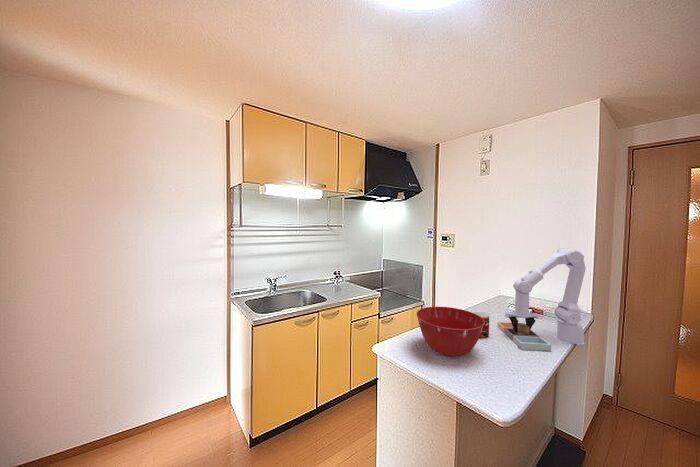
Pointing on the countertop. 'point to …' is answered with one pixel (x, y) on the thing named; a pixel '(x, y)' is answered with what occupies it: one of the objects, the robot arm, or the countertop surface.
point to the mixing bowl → (450, 330)
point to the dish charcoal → (510, 334)
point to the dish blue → (532, 343)
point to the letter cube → (522, 329)
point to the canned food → (486, 326)
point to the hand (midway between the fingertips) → (521, 332)
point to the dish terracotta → (504, 325)
